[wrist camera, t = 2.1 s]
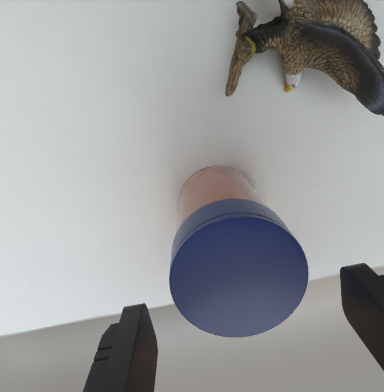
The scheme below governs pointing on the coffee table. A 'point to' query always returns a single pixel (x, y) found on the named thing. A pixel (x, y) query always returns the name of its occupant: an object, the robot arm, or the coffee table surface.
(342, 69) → the brown animal figure
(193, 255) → the jar lid
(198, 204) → the jar
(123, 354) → the robot arm
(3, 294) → the coffee table surface
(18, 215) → the coffee table surface
